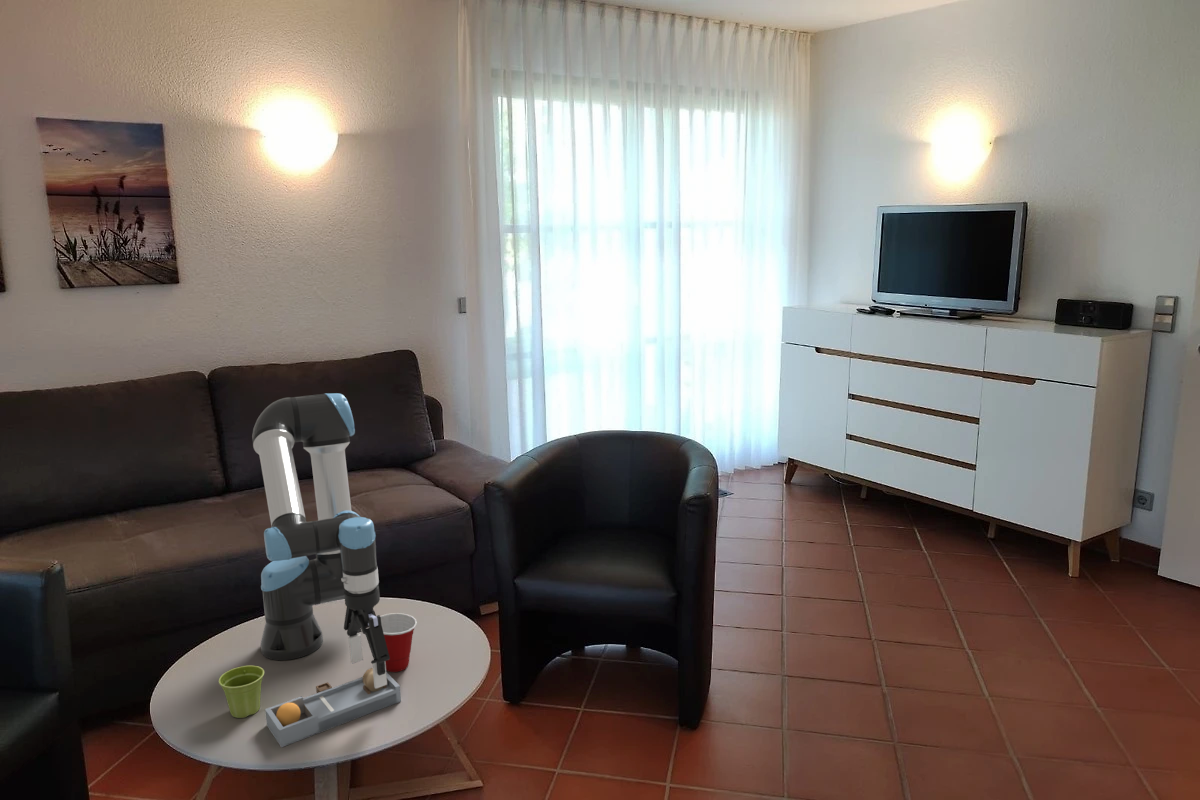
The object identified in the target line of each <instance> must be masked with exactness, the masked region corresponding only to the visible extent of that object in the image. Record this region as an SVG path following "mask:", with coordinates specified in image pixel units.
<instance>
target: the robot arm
mask: <svg viewBox="0 0 1200 800" xmlns="http://www.w3.org/2000/svg"><path fill="white" fill-rule="evenodd" d="M351 409H352V408H351V407H350V404H349V401H348V399H347V397H345V395H344V394H342V393H337V392H336V393H321V394H313V395H303V396H302V395H301V396H294V397H292V396H291V397H289V396H288V397H283V398H280V399H277V400H275V401H273V402H271V403H270V404H269V405H268V406H267V407H265V408H264V409H263V411H262V412H260V415H259V416H258V418H257V419H256V421H255V424H254V427H253V429H252V436H251V437H252V439H251V440H252V447H253V450H254V451H255V453H256V454H258V455H259V460H260V466H261V474H262V479H263V485H264V491H265V497H266V502H267V509H268V514H269V521H270V525H271V526H270V527H268V528H266V529H265V530H264V532H263V538H264V547H265V554H266V558H267V559H268V561H270V563H268V564H267V565H265V567H263V569H262V571H261V573H260V580H261V581H260V582H261V585H260V589H261V591H262V599H263V600H262V601H263V609H264V611H263V612H264V618H265V622H264V623H265V624H264V628H263V632H262V636H261V640H260V652H261V655H262V656H264V657H265V658H266V659H269V660H274V661H287V660H288V661H289V660H290V661H291V660H295V659H298V658H302V657H306V656H308V655H310V654H312V653H314V652H316V651H317V650H318V649H320V647H321V646H322V645H323V642H324V639H323V638H324V637H323V636H324V635H323V631H322V629H321V626H320V625H319V622H318V621H317V619H316V617H315V614H314V609H313V607H314V606H317V605H323V604H326V603H332V602H336V601H341V600H344V604H345V606H346V610H345V616H344V623H343V629H344V631H345V632H346V634H347V636H348V645H349V656H350V658H349V659H350V664H355V663H359V662H362V661H364V655H363V643H362V635H361V633H362V634H364V635H365V637H366V639H367V640H366V641H367V643H368V646H369V650H370V651H371V655H372V660H371V662H370V663H371V664H372V668H373V678H374V688H375V689H376V688H379V687H382V686H384V685H387V676H386V672H387V670H386V663H385V661H387V660H389V659H390V656H389V653H388V649H387V645H386V641H385V637H384V633H383V629H382V624H381V617H380V616H381V615H380V614H378V615H377V613H376V612H375V610H374V608H375V607H376V605H378V604H379V602H380V599H381V598H380V597H381V595H380V585H379V583H380V580H379V569H378V563H377V561H378V560H377V545H376V537H377V535H376V531H375V525H374V522H373V520H371V518H367V517H364V516H363V517H362V516H361V515H359V514H358V512H355V511H353V510H352V505H351V503H352V502H351V495H350V487H349V486H350V485H349V478H348V477H349V475H348V468H347V460H346V459H347V458H346V448H347V447H348V446H349V444H350V443H351V441H350V440H351V439H350V437H353V436H354V435H355V434H356V429H355V421H354V417H353V413H352V410H351ZM299 442H302V446H303V450H305V451H306V452H308V453H309V456H310V461H311V468H312V476H313V477H312V478H313V487H314V497H315V505H316V511H317V512H316V513H317V520H311V521H307V518H306V514H305V509H304V503H303V498H302V493H301V488H300V483H299V479H298V473H297V470H296V469H297V468H296V464H295V458H294V454H293V448H294V445H295V443H299ZM313 555H315V558H313V559H309V558H308V556H313Z"/></svg>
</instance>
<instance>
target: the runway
mask: <svg viewBox="0 0 1200 800" xmlns="http://www.w3.org/2000/svg"><path fill="white" fill-rule="evenodd" d="M386 676H387V685H386V687H387V688H382V689H380V690H379V691H376V692H372V691H371V694H367V692H366V691H365V690H364V689H363V685H364V683H363V681H362V678H363V676H362V677H359V678H356V679H352V680H350V681H348V682H344V683H342V684H339V685H335V686H334V687H332V688H330V689H327V690H325V691H322V692H319V693H313V694H311V695H308V696H305V697H303V696H298V697H295V698H292V699H290V700H288V701H283V702H282V703H277V704H275V705H273V706H269V707H267V708H265V709H264V713H265V720H266V726H267V728H268V729H269V731H270V733H271V734H272V735H273V737H274V739H275V741H276V742H277V743H278V744H279V746H280V748H283V747H286V746H289V745H292V744H294V743H297V742H299V741H302V740H305V739H307V738H310V737H313V736H314V735H317V734H321V733H322V732H325V731H328V730H331V729H333V728H336V727H338V726H341V725H343V724H346V723H349V722H352V721H353V720H357V719H359V718H361V717H364V716H367V715H369V714H372V713H374V712H377V711H379V710H382V709H384V708H388V707H390V706H393V705H395V704H397V703H401V702H402V698H401V697H402V696H401V685H400V684H399V683H398V682H397V681H396V680H395V679H394V678H393V677H392V676H391V675H390V674H389V673H388V671H386ZM285 703H295V704H296V705H297V706H298V707H299V708H300V712H301V715H300V718H299V720H298V722H295V723H292V724H290V725H287V726H282V725H281V723H280V722H279V720H278V719H277V717H276V714H277V711H278V709H279V708H280V706H282V705H283V704H285Z"/></svg>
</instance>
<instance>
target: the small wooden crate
mask: <svg viewBox="0 0 1200 800" xmlns="http://www.w3.org/2000/svg"><path fill="white" fill-rule="evenodd" d="M330 688H333V687H332V685H331V684H330V683H329V682H324V683H321V684H319V685H316V686H315V691H316V693H319V692H322V691H325V690H327V689H330ZM316 693H315V694H316Z"/></svg>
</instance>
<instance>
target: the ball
mask: <svg viewBox="0 0 1200 800" xmlns="http://www.w3.org/2000/svg"><path fill="white" fill-rule="evenodd" d="M300 715H301V712H300V708H299V707H298V706H297V705H296V704H295V703H285V704H283V705H282V706H280V708H279V709H278V711H277V714H276V717H277V719H278V720H279V722H280V723H281V725H282V726H287V725H290V724H292V723H295V722H298V720H299V718H300Z"/></svg>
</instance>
